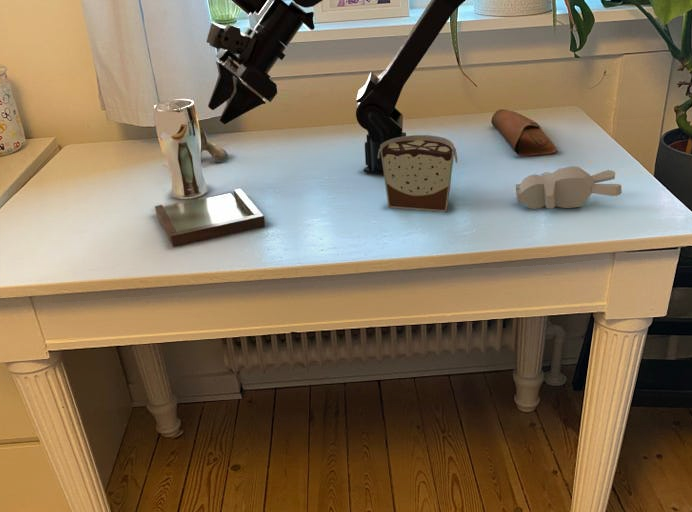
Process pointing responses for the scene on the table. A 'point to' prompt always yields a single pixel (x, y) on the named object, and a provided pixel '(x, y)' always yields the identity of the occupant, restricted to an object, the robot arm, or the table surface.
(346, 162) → the table surface
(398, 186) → the food container
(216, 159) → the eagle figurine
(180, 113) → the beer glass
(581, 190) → the bunny figurine
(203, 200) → the dock
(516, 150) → the sunglasses case
